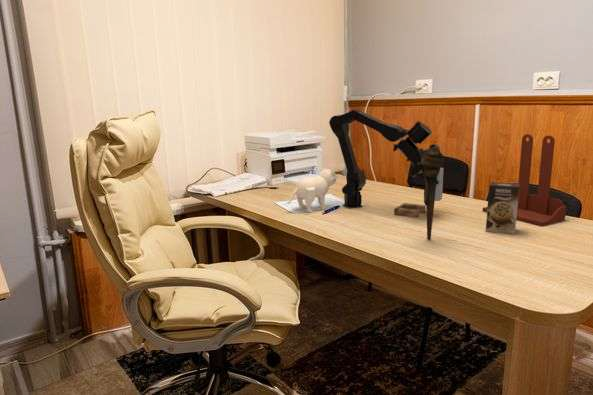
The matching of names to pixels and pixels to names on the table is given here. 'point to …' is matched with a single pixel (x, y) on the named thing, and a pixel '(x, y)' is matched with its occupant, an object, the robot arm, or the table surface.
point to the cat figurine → (314, 189)
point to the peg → (439, 185)
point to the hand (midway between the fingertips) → (439, 182)
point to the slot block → (409, 210)
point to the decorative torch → (430, 181)
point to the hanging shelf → (538, 206)
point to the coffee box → (502, 207)
